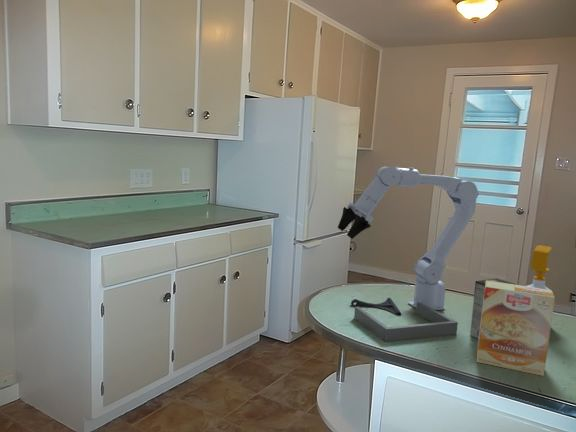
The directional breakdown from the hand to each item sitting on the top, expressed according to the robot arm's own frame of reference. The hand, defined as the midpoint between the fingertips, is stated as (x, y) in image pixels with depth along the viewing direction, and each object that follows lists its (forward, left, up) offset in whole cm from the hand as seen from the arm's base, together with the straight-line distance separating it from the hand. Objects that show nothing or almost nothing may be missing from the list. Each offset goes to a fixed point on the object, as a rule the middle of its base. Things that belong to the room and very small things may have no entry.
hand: (344, 233), depth 147 cm
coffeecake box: (-23, +49, -24) cm, 59 cm away
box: (-11, +21, -24) cm, 33 cm away
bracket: (-11, +4, -25) cm, 27 cm away
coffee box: (-31, +34, -24) cm, 52 cm away
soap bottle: (-53, +29, -24) cm, 65 cm away
